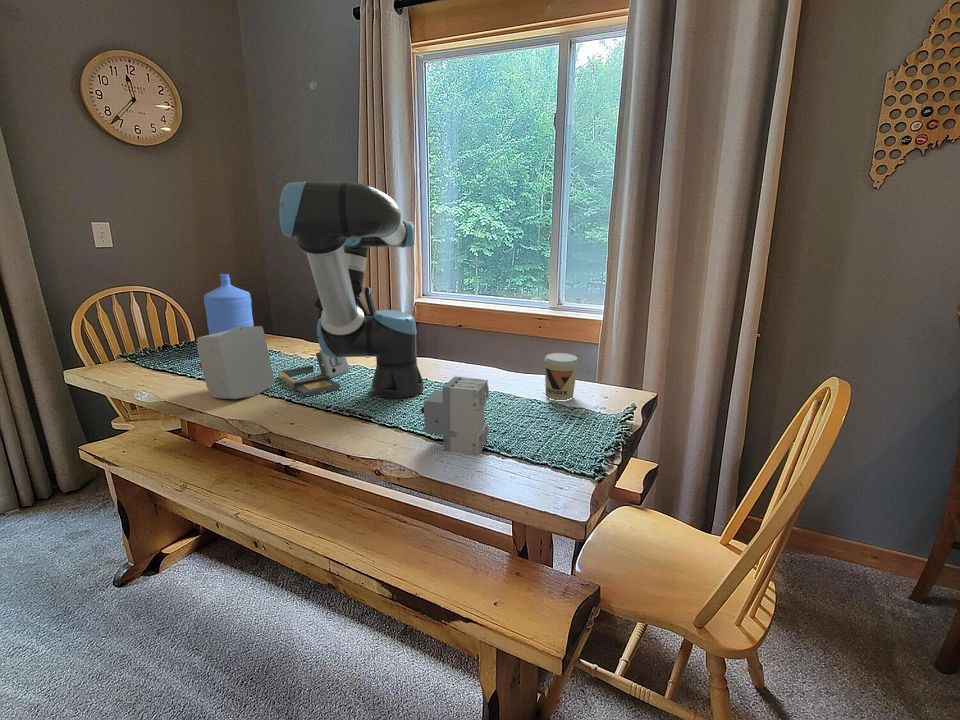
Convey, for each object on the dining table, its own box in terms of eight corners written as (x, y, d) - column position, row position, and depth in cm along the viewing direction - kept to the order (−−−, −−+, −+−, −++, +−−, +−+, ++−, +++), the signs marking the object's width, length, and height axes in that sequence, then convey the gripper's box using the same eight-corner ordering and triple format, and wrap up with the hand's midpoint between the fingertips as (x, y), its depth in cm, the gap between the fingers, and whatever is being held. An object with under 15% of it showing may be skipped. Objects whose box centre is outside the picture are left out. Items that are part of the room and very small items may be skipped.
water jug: (246, 354, 184) (236, 277, 176) (203, 353, 184) (191, 276, 176) (263, 343, 199) (255, 272, 191) (223, 343, 199) (213, 271, 191)
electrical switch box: (242, 387, 156) (227, 323, 152) (276, 387, 150) (261, 321, 145) (199, 402, 144) (181, 333, 139) (233, 403, 137) (216, 331, 133)
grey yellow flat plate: (340, 389, 149) (340, 382, 149) (304, 397, 143) (303, 390, 142) (312, 371, 166) (312, 365, 165) (278, 377, 159) (277, 371, 158)
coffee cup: (539, 400, 142) (541, 359, 139) (547, 389, 151) (549, 351, 147) (572, 404, 139) (574, 363, 136) (578, 394, 147) (581, 354, 144)
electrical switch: (329, 379, 158) (324, 350, 156) (317, 378, 160) (312, 349, 158) (349, 371, 166) (346, 344, 164) (338, 370, 168) (334, 343, 166)
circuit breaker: (430, 433, 120) (429, 373, 116) (487, 441, 116) (488, 379, 112) (417, 446, 113) (416, 383, 109) (478, 455, 110) (479, 390, 105)
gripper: (393, 277, 162) (382, 342, 163) (321, 263, 165) (310, 327, 167) (386, 274, 154) (374, 342, 156) (310, 260, 157) (299, 327, 159)
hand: (341, 334), depth 161 cm, fingers open, 13 cm apart
